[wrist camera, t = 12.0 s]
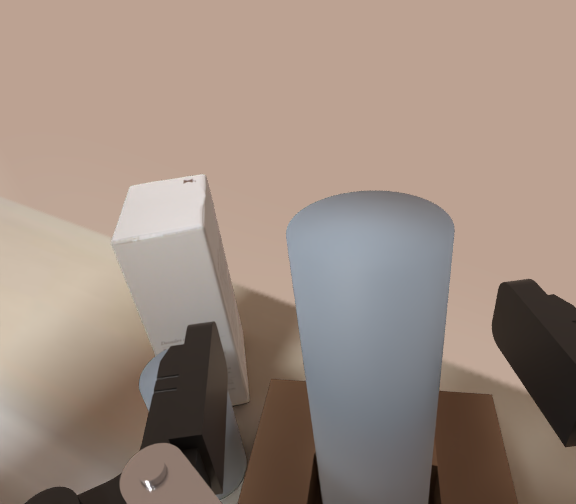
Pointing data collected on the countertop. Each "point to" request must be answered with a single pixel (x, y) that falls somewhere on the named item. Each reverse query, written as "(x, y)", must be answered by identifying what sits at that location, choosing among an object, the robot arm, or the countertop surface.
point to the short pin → (233, 444)
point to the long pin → (372, 339)
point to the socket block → (445, 463)
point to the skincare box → (180, 269)
